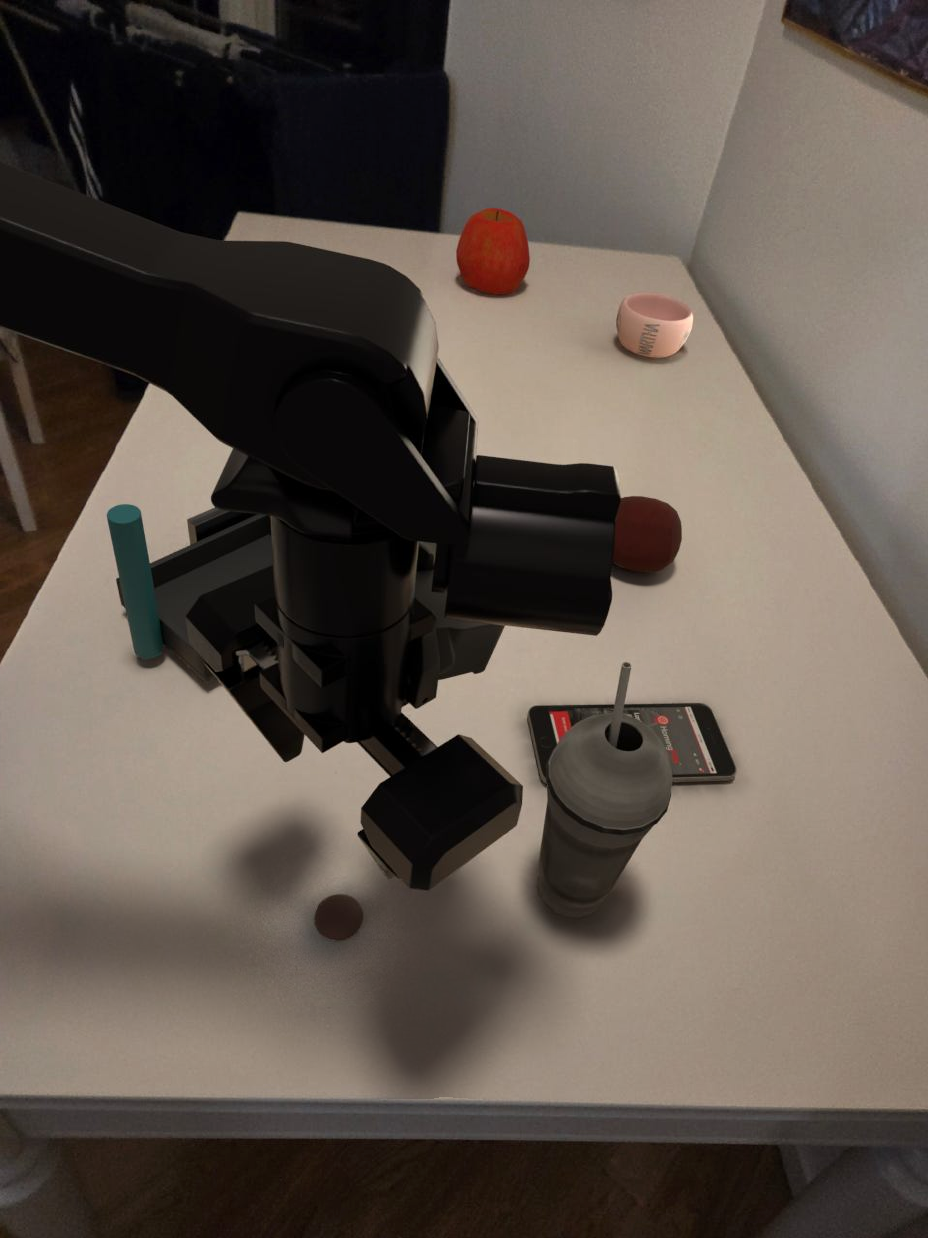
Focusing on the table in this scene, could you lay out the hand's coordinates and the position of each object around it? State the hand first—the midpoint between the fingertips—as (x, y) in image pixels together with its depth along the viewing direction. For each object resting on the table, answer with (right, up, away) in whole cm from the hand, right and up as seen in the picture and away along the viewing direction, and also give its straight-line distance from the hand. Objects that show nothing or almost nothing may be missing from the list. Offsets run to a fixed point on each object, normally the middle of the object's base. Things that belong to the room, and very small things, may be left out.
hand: (340, 811), depth 47 cm
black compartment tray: (-13, +11, +26) cm, 31 cm away
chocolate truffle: (-1, -9, +8) cm, 12 cm away
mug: (+32, +48, +74) cm, 94 cm away
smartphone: (+19, 0, +21) cm, 28 cm away
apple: (+10, +60, +84) cm, 104 cm away
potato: (+22, +16, +38) cm, 47 cm away
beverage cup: (+14, -8, +12) cm, 19 cm away
